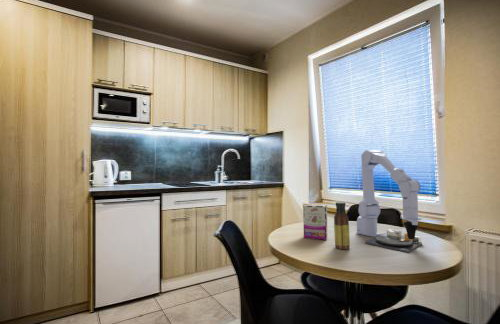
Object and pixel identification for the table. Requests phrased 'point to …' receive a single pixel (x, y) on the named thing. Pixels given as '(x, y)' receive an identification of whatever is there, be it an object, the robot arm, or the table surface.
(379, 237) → the turntable
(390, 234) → the cover
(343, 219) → the sauce bottle
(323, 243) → the table surface
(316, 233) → the candy bar box
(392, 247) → the base plate
